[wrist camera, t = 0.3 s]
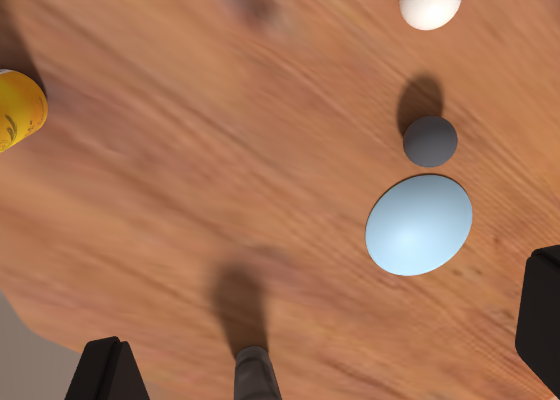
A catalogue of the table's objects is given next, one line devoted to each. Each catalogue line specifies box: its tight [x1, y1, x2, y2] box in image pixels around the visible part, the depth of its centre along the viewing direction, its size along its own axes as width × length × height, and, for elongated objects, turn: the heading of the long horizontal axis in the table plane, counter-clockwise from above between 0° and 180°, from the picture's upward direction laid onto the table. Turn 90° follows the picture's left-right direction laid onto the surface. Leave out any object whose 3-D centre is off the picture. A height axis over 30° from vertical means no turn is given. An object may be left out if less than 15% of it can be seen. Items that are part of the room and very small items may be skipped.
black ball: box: [403, 116, 457, 167], centre depth 44 cm, size 6×6×6 cm
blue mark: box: [365, 175, 472, 276], centre depth 51 cm, size 14×14×1 cm
